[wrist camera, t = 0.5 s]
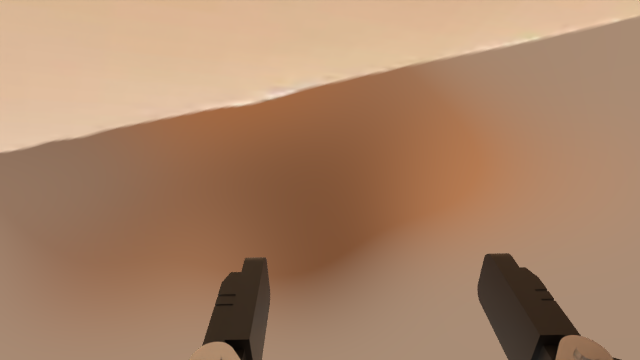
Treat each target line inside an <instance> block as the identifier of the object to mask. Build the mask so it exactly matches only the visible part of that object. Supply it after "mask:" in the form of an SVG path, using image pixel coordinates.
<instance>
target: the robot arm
mask: <svg viewBox="0 0 640 360" xmlns="http://www.w3.org/2000/svg"><path fill="white" fill-rule="evenodd" d="M478 297H479V301H480V303H481V305H482V307H483V309H484V311H485V313H486V315H487V317H488V319H489V321H490V324H491V325H492V328H493V329H494V332H495V334H496V336H497V338H498V340H499V342H500V344H501V346H502V348H503V350H504V352H505V354H506V356H507V358H508V360H620V359H616V358H613V357H612V356H611V355H610V354H609V352H608V351H607V350H606V349H605V348H603V347H602V346H601V345H599V344H598V343H596V342H595V341H593V340H590V339H589V338H586V337H583V336H581V335H580V334H579V333H578V331H577V330H576V328H575V327H574V326H573V324H572V323H571V322H570V320H569V319H568V317H567V316H566V315H565V313H564V312H563V311H562V309H561V308H560V306H559V305H558V304H557V303H556V301H554V298H553V297H552V295H551V294H550V293H549V291H547V289H546V287H545V286H544V284H543V283H542V282H541V281H540V279H539V278H538V277H537V276H536V275H534V274H533V273H532V272H531V271H529V270H528V269H527V268H519V266H518V265H517V263H516V262H515V260H514V259H513V257H512V256H511V255H510V254H507V253H506V254H487V255H485V257H484V261H483V266H482V269H481V274H480V278H479V282H478ZM269 305H270V286H269V277H268V269H267V260H266V258H246V259H245V261H244V264H243V268H242V272H231V273H230V274H229V275H228V276H227V277H226V279H225V280H224V281H223V282H222V284H221V287H220V290H219V294H218V297H217V300H216V304H215V307H214V310H213V313H212V316H211V320H210V323H209V326H208V329H207V333H206V336H205V339H204V342H203V345H202V346H201V347H200V348H198V349H197V350H196V351H195V352H194V353H193V354H192V356H191V357H190V359H189V360H262V353H263V346H264V339H265V333H266V326H267V319H268V312H269Z"/></svg>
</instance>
